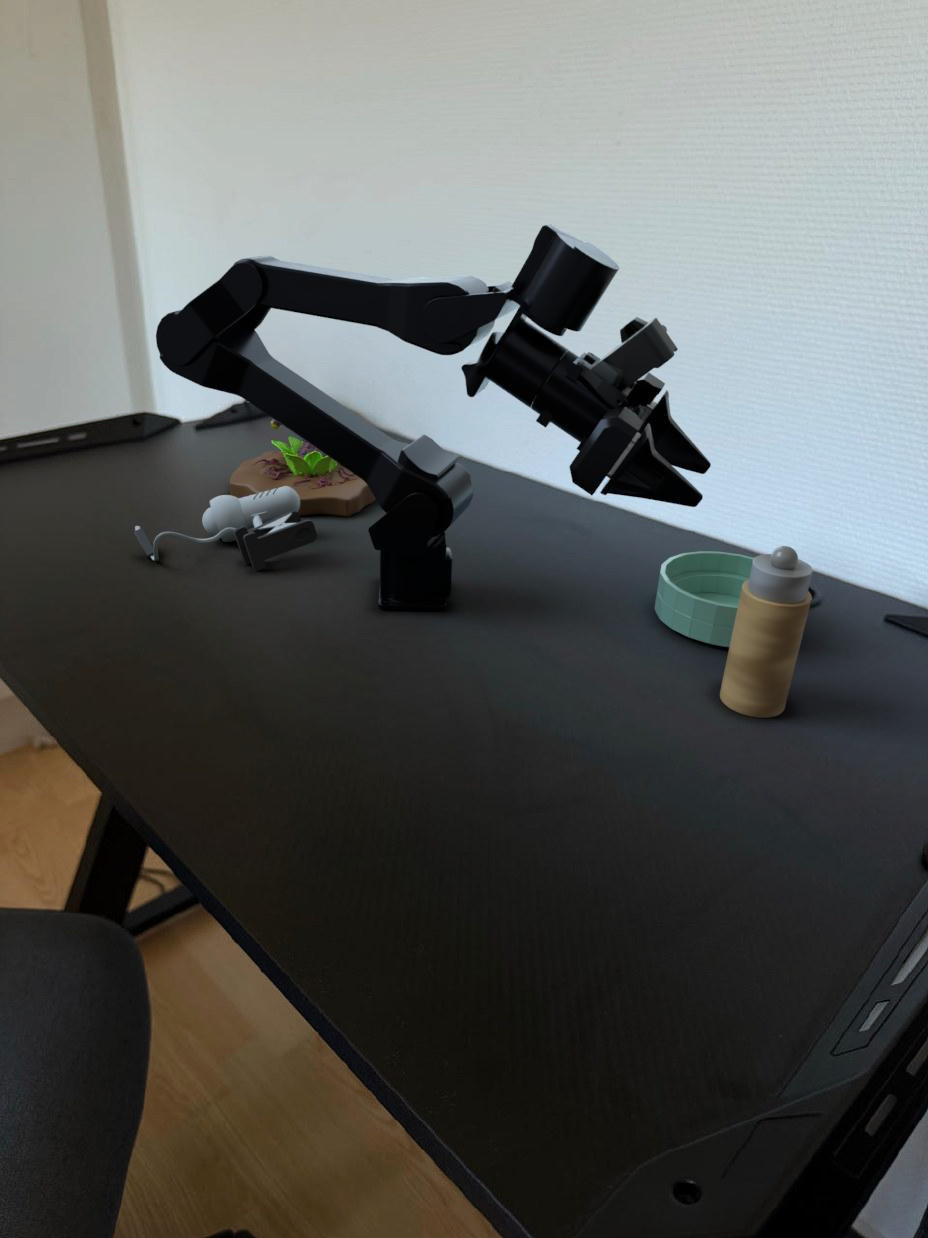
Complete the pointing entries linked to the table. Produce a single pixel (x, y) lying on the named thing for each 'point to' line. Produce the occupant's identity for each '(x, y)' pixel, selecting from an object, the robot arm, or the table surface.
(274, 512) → the clip-on lamp
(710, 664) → the table surface
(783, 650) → the pepper mill
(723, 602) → the green shallow bowl
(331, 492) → the plant
